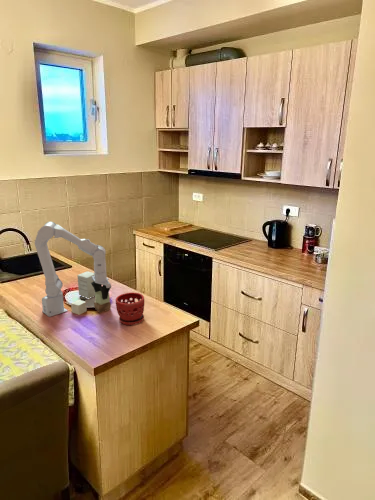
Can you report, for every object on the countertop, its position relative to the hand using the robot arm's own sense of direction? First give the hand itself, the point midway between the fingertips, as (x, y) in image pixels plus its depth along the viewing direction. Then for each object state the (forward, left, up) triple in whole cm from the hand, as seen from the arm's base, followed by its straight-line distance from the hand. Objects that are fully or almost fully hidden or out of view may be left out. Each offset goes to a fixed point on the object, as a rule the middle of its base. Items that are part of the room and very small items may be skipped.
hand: (101, 297), depth 180 cm
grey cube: (-10, +5, -6) cm, 13 cm away
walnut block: (0, 0, -7) cm, 7 cm away
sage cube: (0, 0, -3) cm, 3 cm away
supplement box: (+3, +19, -7) cm, 20 cm away
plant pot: (+3, -20, -7) cm, 21 cm away
